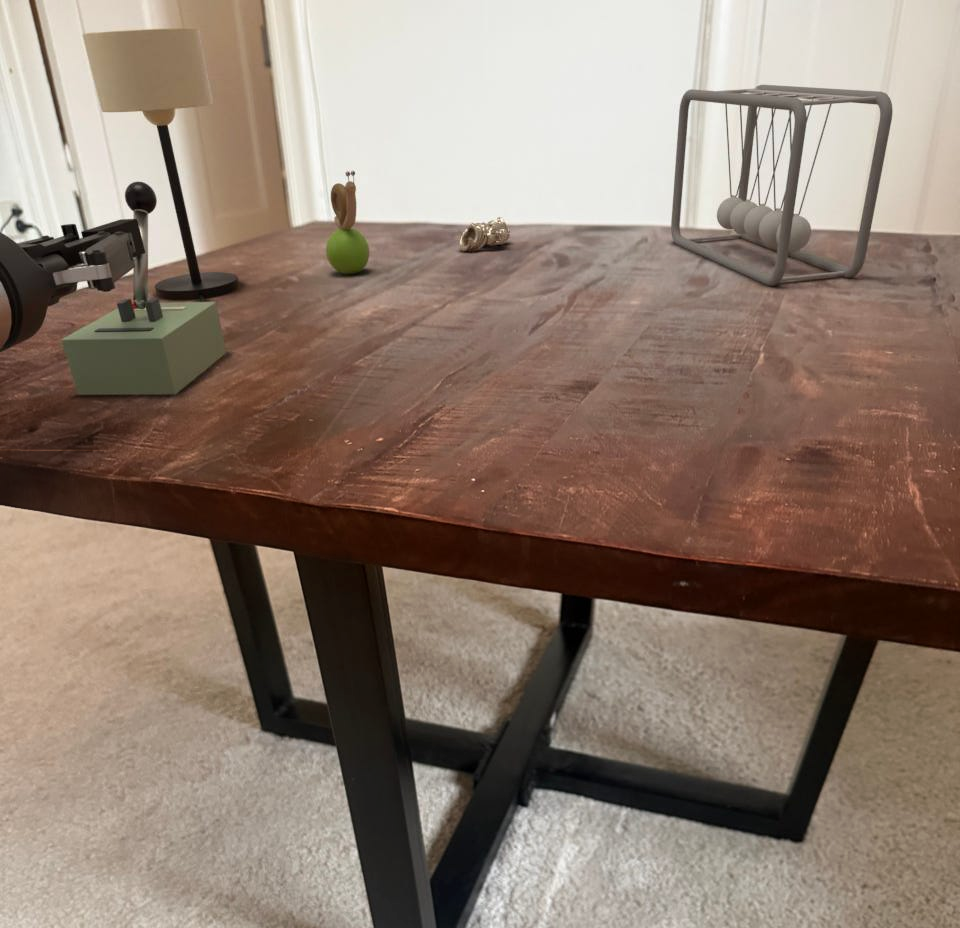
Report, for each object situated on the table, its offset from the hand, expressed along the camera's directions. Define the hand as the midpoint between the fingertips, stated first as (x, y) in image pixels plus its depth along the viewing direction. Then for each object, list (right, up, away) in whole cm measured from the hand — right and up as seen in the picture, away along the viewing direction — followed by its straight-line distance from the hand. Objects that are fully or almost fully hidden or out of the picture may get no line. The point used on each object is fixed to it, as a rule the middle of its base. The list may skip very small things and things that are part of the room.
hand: (133, 236), depth 75 cm
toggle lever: (0, -6, +2) cm, 6 cm away
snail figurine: (+14, +12, +37) cm, 41 cm away
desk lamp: (-3, +6, +30) cm, 31 cm away
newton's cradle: (+64, +12, +32) cm, 73 cm away
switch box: (0, -10, +5) cm, 12 cm away
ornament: (+31, +20, +46) cm, 59 cm away
